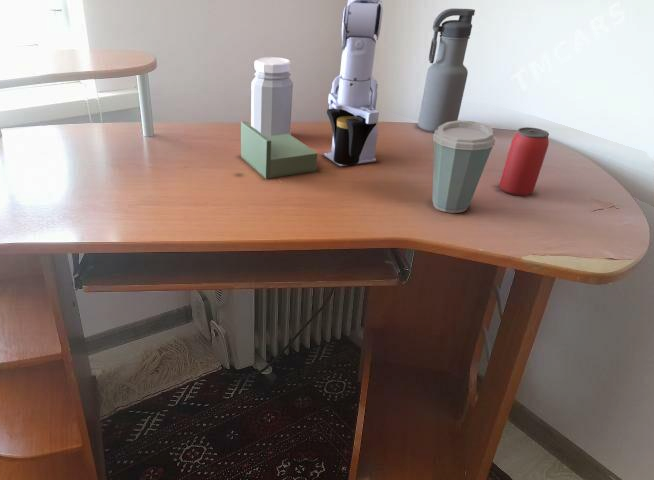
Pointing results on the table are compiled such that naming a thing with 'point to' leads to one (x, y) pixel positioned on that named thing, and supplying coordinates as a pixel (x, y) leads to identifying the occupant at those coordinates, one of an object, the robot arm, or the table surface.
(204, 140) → the table surface
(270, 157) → the shelf
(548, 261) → the table surface
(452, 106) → the water bottle
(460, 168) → the disposable coffee cup
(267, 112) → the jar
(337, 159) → the canister
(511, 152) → the beer can
